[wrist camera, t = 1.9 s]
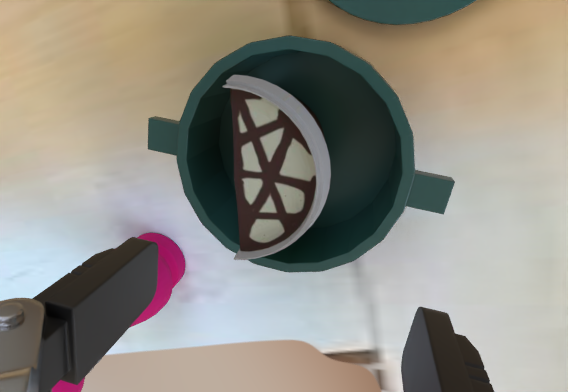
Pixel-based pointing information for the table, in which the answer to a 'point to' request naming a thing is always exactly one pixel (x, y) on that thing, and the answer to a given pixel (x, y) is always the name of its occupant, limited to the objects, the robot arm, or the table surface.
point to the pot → (339, 139)
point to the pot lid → (400, 10)
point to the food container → (275, 166)
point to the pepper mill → (168, 277)
